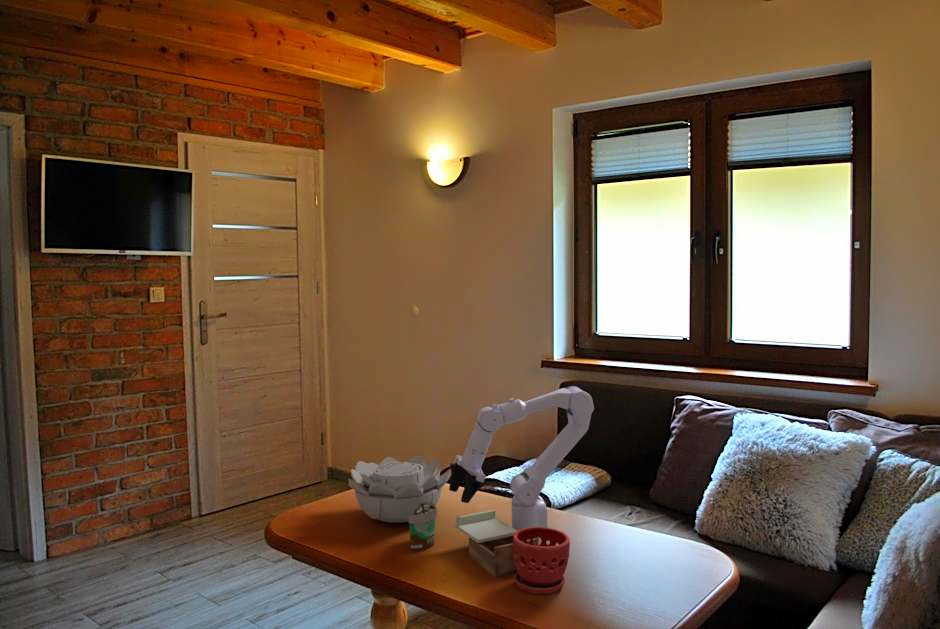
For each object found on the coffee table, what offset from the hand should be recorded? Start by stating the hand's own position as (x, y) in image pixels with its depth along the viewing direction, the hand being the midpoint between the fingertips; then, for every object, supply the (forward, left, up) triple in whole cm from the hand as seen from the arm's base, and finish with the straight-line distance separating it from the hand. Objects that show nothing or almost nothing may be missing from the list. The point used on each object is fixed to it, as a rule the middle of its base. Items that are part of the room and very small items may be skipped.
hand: (458, 496), depth 202 cm
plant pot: (-3, +36, -12) cm, 38 cm away
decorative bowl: (+9, -24, -12) cm, 28 cm away
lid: (-2, +11, -6) cm, 13 cm away
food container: (+10, 0, -12) cm, 15 cm away
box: (-2, +20, -12) cm, 23 cm away
